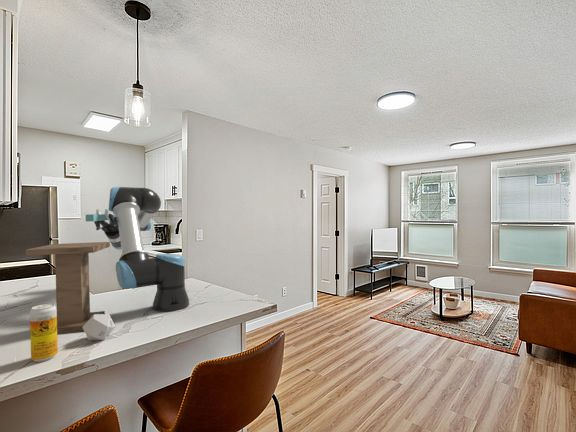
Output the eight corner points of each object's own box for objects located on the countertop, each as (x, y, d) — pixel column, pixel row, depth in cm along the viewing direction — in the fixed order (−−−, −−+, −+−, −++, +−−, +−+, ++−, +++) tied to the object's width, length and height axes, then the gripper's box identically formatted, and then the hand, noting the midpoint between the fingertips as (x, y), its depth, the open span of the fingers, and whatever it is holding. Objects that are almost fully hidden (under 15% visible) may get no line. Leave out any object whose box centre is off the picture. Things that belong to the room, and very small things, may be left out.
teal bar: (104, 220, 158) (104, 214, 158) (111, 219, 159) (110, 214, 159) (85, 221, 133) (85, 214, 133) (93, 221, 134) (93, 214, 134)
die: (91, 348, 97) (112, 320, 100) (71, 333, 99) (92, 306, 101) (105, 346, 105) (124, 321, 108) (86, 333, 106) (105, 308, 109)
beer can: (33, 365, 85) (31, 311, 85) (29, 358, 89) (27, 306, 89) (60, 357, 90) (58, 305, 90) (55, 351, 94) (53, 302, 94)
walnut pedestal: (55, 319, 123) (53, 243, 123) (111, 313, 128) (109, 241, 128) (28, 338, 104) (25, 249, 103) (95, 331, 109) (93, 246, 109)
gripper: (129, 238, 169) (119, 218, 150) (96, 240, 165) (81, 218, 145) (130, 226, 173) (120, 204, 153) (98, 227, 169) (83, 205, 149)
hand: (101, 211), depth 149 cm, fingers closed on teal bar, 3 cm apart
